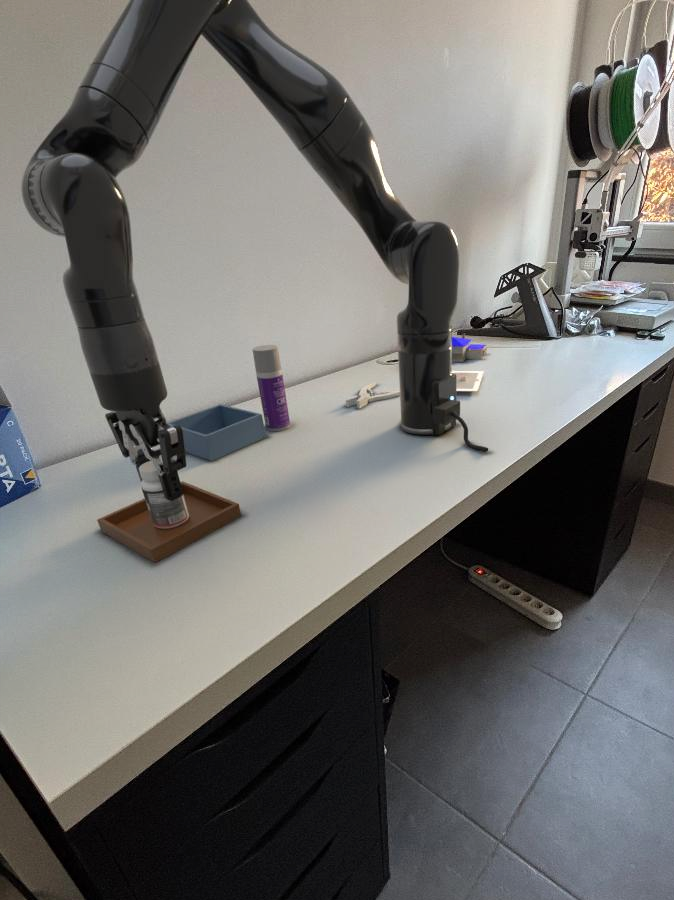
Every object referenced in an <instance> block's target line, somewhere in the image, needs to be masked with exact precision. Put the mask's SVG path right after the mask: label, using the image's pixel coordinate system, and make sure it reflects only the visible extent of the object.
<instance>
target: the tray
mask: <svg viewBox="0 0 674 900" xmlns="http://www.w3.org/2000/svg"><path fill="white" fill-rule="evenodd" d="M180 482H181V486H182V489H183V494H184V498H185V501H186V505H187V508H188V512H189V518H188V520H187V521H186V522H185V523H183V524H182V525H180V526H178V527H175V528H170V529H160V528H157V527H155V526H154V524H153V522H152V519H151V516H150V513H149V510H148V507H147V504H146V501H145V498H144V497H143V498H142V499H140V500H138V501H135V502H133V503H131V504H129V505H127V506H125V507H122V508H119V509H117V510H116V511H115V510H114V511H113V512H111V513H109V514H106V515H104V516H102V517H100V518H98V519H96V521H97V524H98V526H99V529H100V532H101V533H103V534H105V535H107V536H109V537H110V538H111V539H113V540H115V541H117V542H118V543H120V544H122V545H124V546H126V547H127V548H129V549H131V550H133V551H134V552H136V553H138V554H139V555H141V556H143V557H144V558H146V559H148V560H150V561H151V562H153V563H158V562H159V561H161V560H163V559H165V558H166V557H169V556H171V555H172V554H174V553H176V552H178V551H180V550H181V549H183V548H185V547H187V546H189V545H190V544H192V543H194V542H196V541H198V540H200V539H202V538H203V537H206V536H207V535H209V534H211V533H212V532H214V531H216V530H218V529H220V528H222V527H223V526H226V525H227V524H229V523H231V522H233V521H235V520H236V519H239V518H240V517H242V512H241V507H240V503H237V502H236V501H233V500H231V499H228V498H225V497H223V496H220V495H218V494H215V493H213V492H210V491H208V490H206V489H203V488H201V487H198V486H195V485H193V484H190V483H189V482H186V481H183V480H182V481H180Z"/></svg>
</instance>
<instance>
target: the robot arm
mask: <svg viewBox="0 0 674 900" xmlns="http://www.w3.org/2000/svg"><path fill="white" fill-rule="evenodd" d="M201 36H202V37H203V38H204V40H206V41H207V42H208V44H209V45H210V46H211V47H212V48H213V49H214V50H215V51H216V52H217V53H218V55H220V57H222V58H223V60H224V61H225V62H226V63H227V64H228V65H229V66H230V67H231V68H232V69H233V71H234V72H235V73H236V74H237V75H238V76H239V77H240V79H241V80H242V81H243V82H244V83H245V85H246V86H247V87H248V88H249V90H250V91H251V92H252V94H254V96H255V97H256V98H257V100H258V101H259V102H260V103H261V104H262V106H263V107H264V108H265V109H266V111H268V113H269V114H270V115H271V117H273V119H274V120H275V122H276V123H277V124H278V125H279V126H280V128H281V129H282V131H283V132H284V133H285V134H286V136H287V137H288V138H289V140H290V141H291V142H292V144H293V145H294V147H295V148H296V149H297V151H298V152H299V153H300V155H301V156H302V157H303V158H304V159H305V160H306V161H305V162H307V163H308V164H309V166H310V167H311V168H312V169H313V171H314V172H315V173H316V174H317V176H318V177H319V178H320V179H321V180H322V181H323V183H324V184H325V185H326V186H327V188H328V189H329V191H331V192H332V194H333V195H334V196H335V198H336V199H337V200H338V201H339V203H340V204H341V205H342V206H343V208H345V210H346V211H347V212H348V213H349V215H350V216H351V217H352V218H353V219H354V220H355V222H356V223H357V225H358V226H359V227H360V229H361V230H362V232H363V233H364V235H365V236H366V238H367V239H368V240H369V242H370V244H371V245H372V248H373V249H374V251H375V252H376V253H377V255H378V257H379V258H380V260H381V262H382V263H383V265H384V266H385V267H386V269H387V271H388V272H389V273H390V274H391V276H393V278H395V279H396V280H397V281H399V282H400V283H402V284H405V285H408V299H407V303H406V307H405V308H403V309H402V310H400V311H399V312H398V313H397V315H396V334H397V335H396V338H397V359H398V361H397V362H398V383H399V390H400V395H399V403H400V428H401V429H402V431H404V432H406V433H408V434H412V435H420V436H427V435H428V436H429V435H433V436H440V435H442V434H443V433H445V432H447V431H449V430H450V429H452V428H454V427H455V426H457V421H458V423H460V425H461V426H462V429H463V441H464V443H465V445H466V446H467V447H469V448H470V449H473V450H475V451H481V452H485V453H487V452H488V451H489V447H486V446H482V445H476V444H473V443H472V442H471V441H470V440H469V428H468V425H467V423H466V422H465V420H464V419H463V418H462V417H461V401H460V400H457V391H456V379H457V376H456V374H455V373H452V371H453V369H452V368H453V362H452V337H453V318H454V315H455V313H456V311H457V305H458V294H459V293H458V291H459V289H458V288H459V273H460V272H459V271H460V250H459V244H458V240H457V236H456V234H455V232H454V230H453V229H452V228H451V227H450V226H449V225H448V224H446V223H445V222H441V221H438V220H421V221H420V220H419V221H418V220H417V219H415V218H414V217H413V216H412V214H410V212H409V211H408V210H407V209H406V207H405V206H404V205H403V203H402V202H401V201H400V199H399V198H398V197H397V195H396V193H395V192H394V190H393V189H392V188H391V186H390V184H389V181H388V179H387V176H386V174H385V173H386V172H385V169H384V166H383V165H384V164H383V162H382V158H381V154H380V151H379V147H378V144H377V140H376V137H375V136H374V133H373V131H372V129H371V127H370V125H369V123H368V121H367V120H366V118H365V116H364V115H363V113H362V112H361V110H360V109H359V108H358V106H357V104H356V103H355V101H354V100H353V99H352V97H351V96H350V94H349V92H348V91H347V90H346V88H345V87H344V85H342V83H341V82H340V81H339V80H338V79H337V78H336V76H335V75H333V74H332V73H331V72H330V71H328V70H327V68H324V67H323V66H322V65H321V64H319V63H318V62H316V60H313V59H311V58H310V57H308V56H307V55H305V54H304V53H302V52H300V51H299V50H298V49H296V48H294V47H293V46H291V45H290V44H288V43H287V42H285V41H284V40H283V39H281V38H280V37H279V36H278V35H277V34H275V32H274V31H273V30H272V29H271V28H270V27H269V26H268V25H267V24H266V22H265V21H264V20H263V19H262V18H261V17H260V15H259V14H258V12H257V11H256V10H255V8H254V7H253V5H252V4H251V3H250V1H249V0H129V1H128V2H127V4H126V5H125V7H124V8H123V10H122V12H121V14H120V15H119V17H118V18H117V20H116V21H115V23H114V24H113V26H112V28H111V29H110V31H109V32H108V34H107V35H106V37H105V38H104V40H103V42H102V43H101V45H100V46H99V48H98V49H97V51H96V53H95V55H94V57H93V59H92V61H91V63H90V64H89V67H88V68H87V70H86V72H85V74H84V76H83V78H82V79H81V81H80V83H79V85H78V88H77V89H76V91H75V93H74V95H73V98H72V100H71V103H70V106H69V107H68V108H67V110H66V112H65V113H64V115H63V116H61V118H60V120H59V121H57V123H56V124H55V125H54V126H53V127H52V129H51V130H50V131H49V133H48V134H47V135H46V137H45V138H44V139H43V140H42V142H40V144H39V146H38V147H37V149H35V151H34V153H33V154H32V156H31V157H30V159H29V160H28V163H27V164H26V166H25V168H24V172H23V174H22V178H21V183H20V184H21V185H20V186H21V187H20V193H21V198H22V202H23V204H24V208H25V209H26V211H27V214H28V215H29V216H30V218H31V219H32V220H33V222H35V224H37V226H39V227H40V228H41V229H43V230H44V231H46V232H48V233H49V234H52V235H55V236H58V237H61V238H64V239H65V244H66V248H67V253H68V258H69V266H68V268H66V270H64V272H63V274H62V285H63V289H64V293H65V296H66V299H67V302H68V305H69V308H70V311H71V315H72V317H73V321H74V323H75V325H76V329H77V332H78V337H79V344H80V348H81V350H82V354H83V357H84V360H85V363H86V366H87V369H88V372H89V375H90V378H91V381H92V383H93V386H94V389H95V393H96V396H97V398H98V402H99V404H100V406H101V408H102V409H104V410H106V411H109V412H108V413H107V412H106V413H105V416H104V417H105V419H106V421H107V424H108V426H109V428H110V430H111V432H112V435H113V437H114V439H115V442H116V444H117V445H118V448H119V451H120V452H121V454H122V457H124V458H125V459H126V458H129V460H130V461H129V462H130V463H131V465H133V466H135V468H136V472H137V475H138V478H139V481H140V482H141V481H142V478H141V476H140V472H139V467H140V466H141V465H142V464H144V463H146V462H148V461H152V462H153V464H154V466H155V468H156V470H157V472H158V474H159V475H158V476H159V479H160V482H161V486H162V489H163V492H164V495H165V498H166V499H167V500H169V501H173V500H175V499H177V498H179V497H181V496H182V495H183V489H182V486H181V482H182V481H181V479H180V476H179V472H178V471H180V470H182V469H185V468H187V456H186V452H185V447H184V438H183V430H182V428H181V426H180V425H179V424H177V425H174V426H170V425H168V424H167V423H168V422H167V419H166V417H165V415H164V413H163V411H162V409H161V404H162V402H164V401H165V400H166V398H167V397H168V390H167V387H166V382H165V379H164V375H163V372H162V368H161V365H160V361H159V357H158V353H157V349H156V345H155V342H154V339H153V336H152V334H151V331H150V329H149V327H148V324H147V321H146V317H145V313H144V311H143V307H142V303H141V299H140V296H139V293H138V290H137V287H136V283H135V280H134V255H133V238H132V225H131V217H130V213H129V207H128V204H127V200H126V197H125V195H124V192H123V190H122V188H121V186H120V183H119V182H118V180H117V177H118V176H119V175H120V174H121V173H122V172H124V171H126V170H128V169H129V168H131V167H133V166H134V165H136V164H137V162H138V161H140V159H141V158H142V156H143V155H144V153H145V151H146V149H147V147H148V145H149V143H150V141H151V139H152V137H153V136H154V133H155V131H156V129H157V127H158V125H159V123H160V121H161V119H162V117H163V114H164V112H165V111H166V108H167V106H168V104H169V102H170V100H171V98H172V95H173V93H174V90H175V89H176V87H177V84H178V82H179V81H180V78H181V76H182V75H183V74H182V73H183V71H184V70H185V68H186V65H187V62H188V60H189V59H190V57H191V55H192V53H193V51H194V49H195V47H196V45H197V42H198V41H199V39H200V37H201ZM157 446H159V448H156V449H155V450H154V449H153V448H155V447H157ZM160 457H161V458H160ZM160 459H162V463H163V465H162V463H161V460H160Z"/></svg>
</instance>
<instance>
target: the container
mask: <svg viewBox="0 0 674 900" xmlns="http://www.w3.org/2000/svg"><path fill="white" fill-rule="evenodd" d="M252 354H253V363H254V368H255V375H256V382H257V386H258V393H259V396H260V403H261V408H262V415H263V421H264V426H265V430H267V431H269V432H282V431H285V430H287V429H289V428H290V427H291V421H290V414H289V408H288V407H289V406H288V401H287V395H286V389H285V381H284V374H283V369H282V365H281V359H280V352H279V348H278V345H275V344H264V345H258V346H255V347H253V348H252Z"/></svg>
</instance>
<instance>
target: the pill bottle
mask: <svg viewBox="0 0 674 900" xmlns="http://www.w3.org/2000/svg"><path fill="white" fill-rule="evenodd" d="M160 460H161V463H162V458H160ZM162 465H163V463H162ZM139 472H140V476H141V478H142V481H140V489H141V491H142V494H143V499H144V498H145V501H146V504H147V507H148V510H149V513H150V516H151V519H152V522H153V524H154V526H155V527H157V528H160V529H170V528H175V527H178V526H180V525H182V524H183V523H185V522H186V521H187V520H188V518H189V512H188V508H187V505H186V501H185V498H184V494H183V495H182V496H181V497H179V498H177V499H175V500H173V501H169V500H167V499H166V498H165V495H164V492H163V489H162V486H161V482H160V479H159V476H158V475H159V474H158V472H157V470H156V468H155V466H154V464H153V462H152V461H148V462H146V463H144V464H142V465H141V466H140V467H139Z"/></svg>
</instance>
